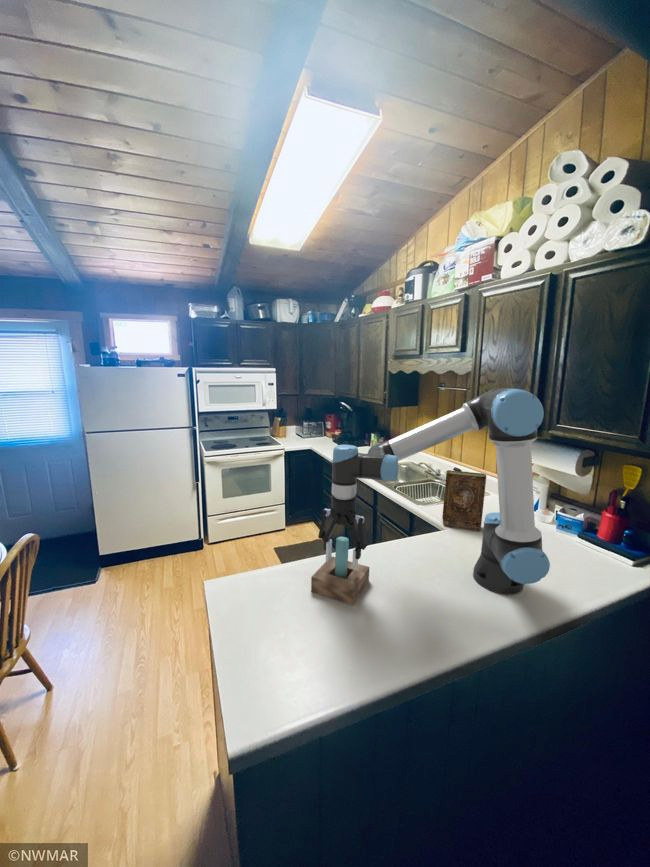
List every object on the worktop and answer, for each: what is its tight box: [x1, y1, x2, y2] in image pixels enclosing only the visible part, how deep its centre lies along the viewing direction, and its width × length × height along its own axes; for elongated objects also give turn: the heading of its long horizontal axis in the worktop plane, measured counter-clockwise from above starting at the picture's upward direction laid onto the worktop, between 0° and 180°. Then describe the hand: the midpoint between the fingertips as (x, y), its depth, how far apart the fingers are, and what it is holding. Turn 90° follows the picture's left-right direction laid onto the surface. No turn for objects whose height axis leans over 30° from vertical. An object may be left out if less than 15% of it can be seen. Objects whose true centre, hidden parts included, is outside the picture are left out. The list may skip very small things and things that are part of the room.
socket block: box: [310, 556, 370, 606], centre depth 110 cm, size 14×14×5 cm
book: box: [441, 470, 487, 532], centre depth 155 cm, size 16×6×25 cm, turn 73°
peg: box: [334, 536, 350, 579], centre depth 109 cm, size 4×4×16 cm
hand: (341, 563), depth 109 cm, fingers open, 8 cm apart
